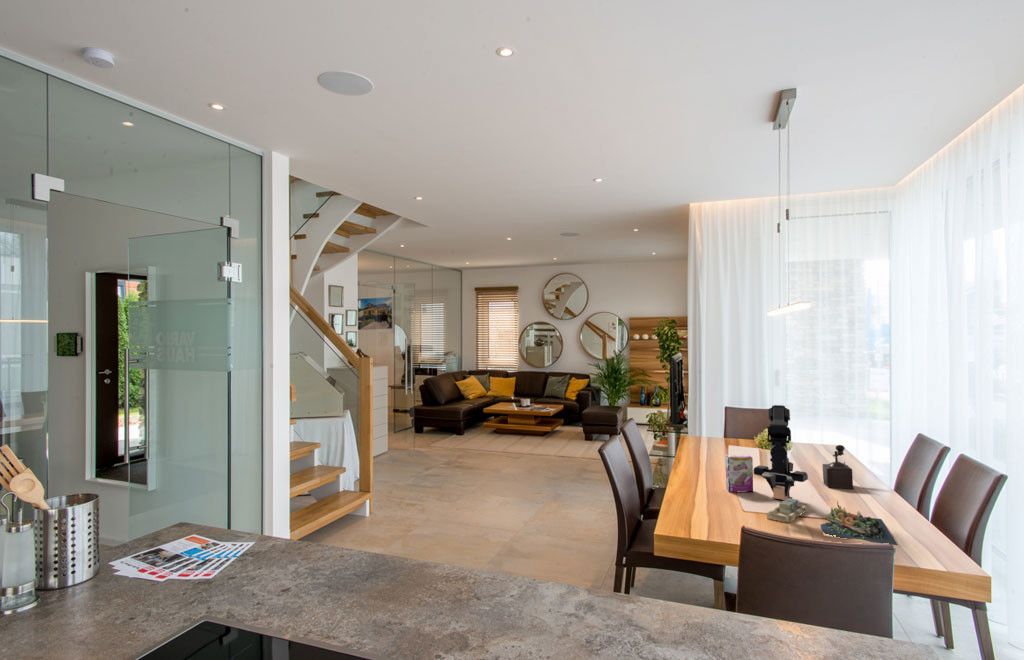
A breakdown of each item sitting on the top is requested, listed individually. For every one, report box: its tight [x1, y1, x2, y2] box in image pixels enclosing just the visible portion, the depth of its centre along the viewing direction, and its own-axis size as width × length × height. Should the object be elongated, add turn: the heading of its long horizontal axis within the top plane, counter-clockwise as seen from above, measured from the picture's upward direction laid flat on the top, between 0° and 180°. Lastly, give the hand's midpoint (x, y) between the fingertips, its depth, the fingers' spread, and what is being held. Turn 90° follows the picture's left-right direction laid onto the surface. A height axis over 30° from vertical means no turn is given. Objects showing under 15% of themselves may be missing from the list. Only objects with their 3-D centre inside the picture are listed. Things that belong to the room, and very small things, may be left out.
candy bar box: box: [724, 454, 754, 493], centre depth 252 cm, size 11×5×16 cm, turn 84°
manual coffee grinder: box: [821, 444, 854, 490], centre depth 259 cm, size 16×11×18 cm
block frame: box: [766, 498, 807, 524], centre depth 217 cm, size 19×8×5 cm, turn 133°
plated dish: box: [820, 501, 898, 546], centre depth 201 cm, size 35×28×7 cm
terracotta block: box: [772, 486, 788, 501], centre depth 213 cm, size 4×4×4 cm
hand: (780, 495), depth 213 cm, fingers closed on terracotta block, 4 cm apart
